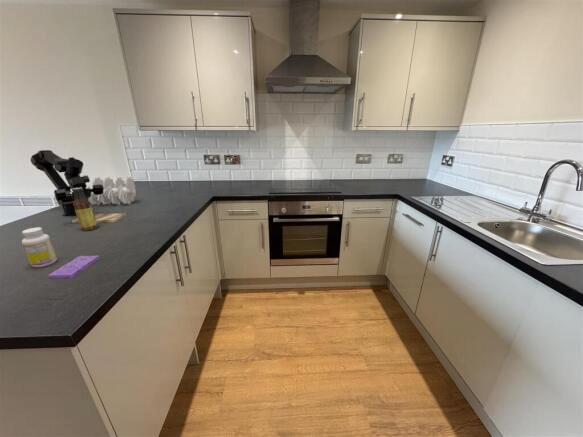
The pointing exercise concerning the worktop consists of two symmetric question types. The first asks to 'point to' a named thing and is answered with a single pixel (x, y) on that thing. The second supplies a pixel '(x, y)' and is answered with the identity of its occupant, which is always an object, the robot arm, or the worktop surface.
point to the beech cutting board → (105, 217)
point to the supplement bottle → (38, 247)
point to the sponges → (74, 267)
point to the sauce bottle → (84, 210)
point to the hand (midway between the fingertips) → (86, 205)
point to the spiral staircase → (114, 191)
